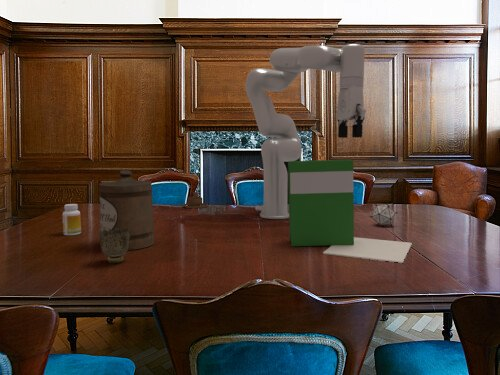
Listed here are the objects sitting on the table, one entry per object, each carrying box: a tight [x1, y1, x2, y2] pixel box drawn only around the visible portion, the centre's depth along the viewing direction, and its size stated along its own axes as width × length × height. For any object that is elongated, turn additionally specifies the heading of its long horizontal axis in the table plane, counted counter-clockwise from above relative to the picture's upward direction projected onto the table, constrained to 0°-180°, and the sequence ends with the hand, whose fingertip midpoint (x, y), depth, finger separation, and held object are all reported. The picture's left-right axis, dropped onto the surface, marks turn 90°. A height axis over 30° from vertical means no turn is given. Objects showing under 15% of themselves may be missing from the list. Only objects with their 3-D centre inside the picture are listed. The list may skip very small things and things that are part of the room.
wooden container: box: [98, 168, 155, 251], centre depth 119 cm, size 15×15×22 cm
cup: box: [98, 228, 130, 264], centre depth 102 cm, size 8×7×8 cm
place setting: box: [181, 191, 214, 209], centre depth 197 cm, size 18×20×6 cm
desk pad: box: [322, 236, 413, 264], centre depth 114 cm, size 20×22×1 cm
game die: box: [369, 202, 399, 227], centre depth 147 cm, size 9×8×10 cm
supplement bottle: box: [62, 203, 82, 236], centre depth 134 cm, size 5×5×10 cm
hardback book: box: [287, 159, 355, 247], centre depth 119 cm, size 18×7×24 cm, turn 89°
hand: (349, 137), depth 135 cm, fingers open, 9 cm apart
